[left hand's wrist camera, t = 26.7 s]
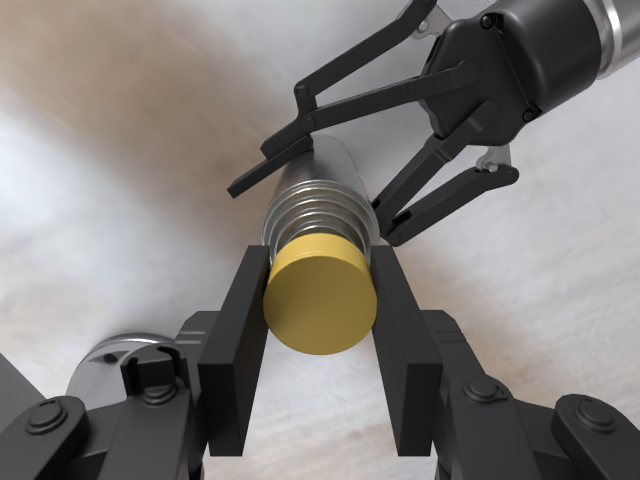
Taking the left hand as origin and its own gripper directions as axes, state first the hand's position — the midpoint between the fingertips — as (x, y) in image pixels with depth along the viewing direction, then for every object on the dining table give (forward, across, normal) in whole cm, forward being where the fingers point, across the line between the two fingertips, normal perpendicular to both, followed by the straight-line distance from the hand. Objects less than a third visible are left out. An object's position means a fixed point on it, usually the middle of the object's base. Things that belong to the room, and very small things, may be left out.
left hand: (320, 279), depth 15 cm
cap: (-2, 0, 0) cm, 2 cm away
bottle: (+21, 0, 0) cm, 21 cm away
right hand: (+14, -4, -3) cm, 15 cm away
